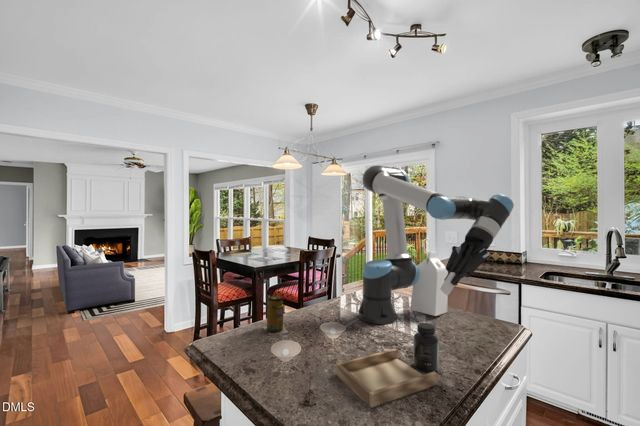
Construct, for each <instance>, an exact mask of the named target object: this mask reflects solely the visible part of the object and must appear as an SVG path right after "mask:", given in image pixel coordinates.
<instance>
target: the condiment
mask: <svg viewBox="0 0 640 426" xmlns="http://www.w3.org/2000/svg"><path fill="white" fill-rule="evenodd" d="M283 303H284V301H283V297H282V296H280V295H271V296H269V297H268V303H267V305H266V308H267V309H266V326H262V328H263V329H264V331H265V333H267V334H268V335H269V336H274V335H282V334H286V333H287V334H288V333H289V331H288V330H287V329H286V328H285V327H284V304H283Z"/></svg>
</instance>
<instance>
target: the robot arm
mask: <svg viewBox="0 0 640 426" xmlns="http://www.w3.org/2000/svg"><path fill="white" fill-rule="evenodd" d="M362 184H363V186H364V188H365V189H366V190H368V191H369V192H371V193H374V194H376V195H378V199H380V200H381V201H382V210H383V219H384V229H385V239H386V249H387V250H386V251H387V252H386V253H387V255H386V256H385V257H384V259H374V260H373V259H372V260H369V261H366V262H365V263H364V265H363V271H362V300H361V301H360V302H361V303H360V306H359V308H358V312H357V315H358V319H359V320H360V321H362V322H364V323H368V324H373V325H387V324H392V323H394V322H395V320H396V312H395V308H394V306H393V302H392V291H396V290H401V289H407V288H409V287H413V285H414V284H415V283H416V281H417V279H418V275H419V271H418V267H417V264H416V263H415V262H414V261H413V258H412V257H413V256H411V255H410V254H409V253H408V245H407V244H408V243H407V234H406V225H405V216H404V214H405V213H404V205H403V203H405V204H407V205H410V206H412V207H415V208H416V209H419V210H421V211H425V212H426V213H428V214H429V216H431V217H432V218H434V219H436V220H437V219H438V220H441V221H444V220H462V219H463V220H471V221H474V223H473V224H472V225H471V227H470V228H469V230H468V231H467V233H466V235H465V237H464V241H463V242H461V244H460V246H455V245H453V246H452V247H451V254H450V256H449V259H448V260H447V264H446V265H445V267H446V270H447V271H448V275H447V276H446V278H445V280H444V281H445V282H444V283H443V285H442V286H441V288H440V289H441V290H442V292H443V293H444V294H446V295H448V296H449V295H450V294H451V292H452V291H453V289H454V287H455V286H457V285H458V284H459V282H460V281H461V280H462V279H463V278H466V279H467V278H470V276H472V274H474V273H475V272H476V270H477V269H478V268H479V267H480V266H481V265H482V264H483V263H484V262H485V261H486V260H488V259H489V258H491V254H490V252H488V250H489V248H490V246H491V245H492V243H493V242H494V240H495V238H496V237H497V235H498V233H499V232H500V231H501V229H502V226H503V225H504V224H505V222H506V221H507V220H508V218H509V217H510V215H511V212H512V211H513V209H514V205H515V204H514V202H513V200H512V199H511V198H510V197H509V196H507V195H506V194H502V193H501V194H500V193H498V194H497V193H496V194H494V195H492V196H491V197H490V198H489V199H479V198H472V197H468V196H467V197H466V196H449V195H446V194H443V193H439V192H436V191H433V190H431V189H428V188H425V187H422V186H420V185H417V184H414V183H411V182H410V177H409V175H408V174H407V172H406V170H403V169H402V168H398V167H395V166H383V165H373V166H370V167H367V169H366V170H365V171H364V173H363V175H362Z"/></svg>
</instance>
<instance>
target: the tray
mask: <svg viewBox="0 0 640 426" xmlns="http://www.w3.org/2000/svg"><path fill="white" fill-rule="evenodd" d="M398 351H399V350H398V348H392V349H387V350H384V351H380V352H376V353H372V354H369V355H364V356H359V357H356V358H353V359H349V360H345V361H341V362H337V363H336V364H335V368H336V369H335V375H336V376H337V378H338V379H339V380H341V382H342V383H344V384H345V385H346V386H347V387H348V388H349V389H350V390H352V392H353V393H354V394H355V395H357V397H359V398H360V399H361V400H362V402H364V403H365V404H366V405H367V406H369V405H370V406H369V407H370V408H376V407H378V406H381V405H384V404H386V402H387V403H389V402H392V401H394V400H397V399H400V398H403V397H406V396H409V395H411V394H414V393H418V392H420V391H424V390H427V389H429V388H432V387H435V386H437V385H438V372H436V371H435V372H431V373H426V374H423V373H421V372H420V371H419V370H417V369H414V368H413V367H412V366H409V365H408V364H406V363H405V362H403V361H402V360H400V359H399V358H398V356H399V354H398ZM383 403H384V404H383ZM380 404H381V405H380ZM377 405H378V406H377Z"/></svg>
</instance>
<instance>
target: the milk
mask: <svg viewBox="0 0 640 426" xmlns="http://www.w3.org/2000/svg"><path fill="white" fill-rule="evenodd" d="M416 265H417V264H416ZM417 267H418V271H419V275H418V279H417V281H416V283H415V284H414V285H412V292H411V298H410V307H409V309H410V310H411V311H414V312H418V313H421V314H427V315H430V316H434V317H437V316H440V315H442V314H443V315H444V314H446V313H448V302H449V301H448V296H449V295H446V294H444V293H443V292H442V290H441V289H440V288H441V286H442V285H443V283H444V282H445V281H444V280H445V278H446V276H447V275H448V273H449V272H448V271H447V270H446V265H445V264H444V263H443V262H441V260H440V259H439V257H438V251H427V253H426V258H425V259H424V260H422V261H421V262H420V263H419V264H418V265H417Z"/></svg>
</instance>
